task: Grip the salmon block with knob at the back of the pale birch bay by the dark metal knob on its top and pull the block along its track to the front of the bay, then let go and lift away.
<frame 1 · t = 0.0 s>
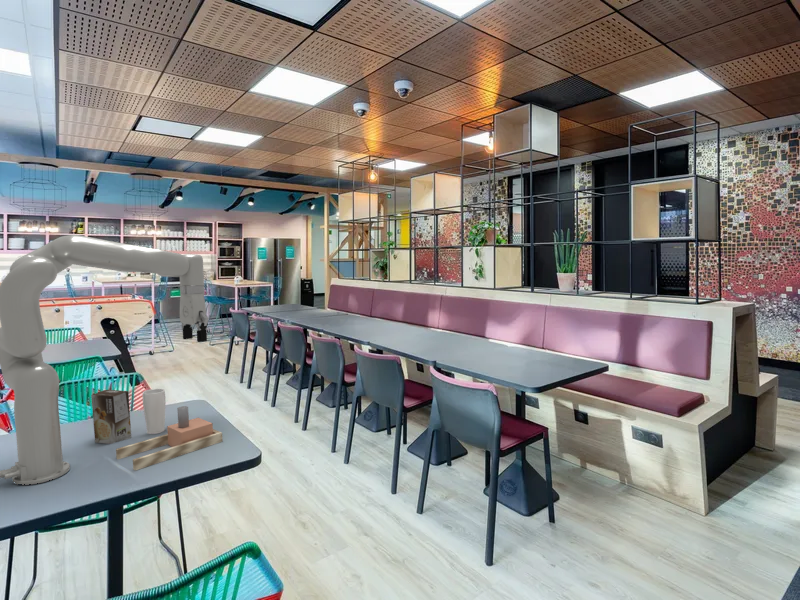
hand: (194, 340, 161), 31 cm above the table, tool pointing down, fingers open, 9 cm apart
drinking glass: (156, 435, 158), on the table
salmon block with knob: (190, 424, 146), point 7 cm above the table, slide at 13.5 cm
coffee box: (113, 440, 153), on the table
bay: (171, 453, 142), on the table
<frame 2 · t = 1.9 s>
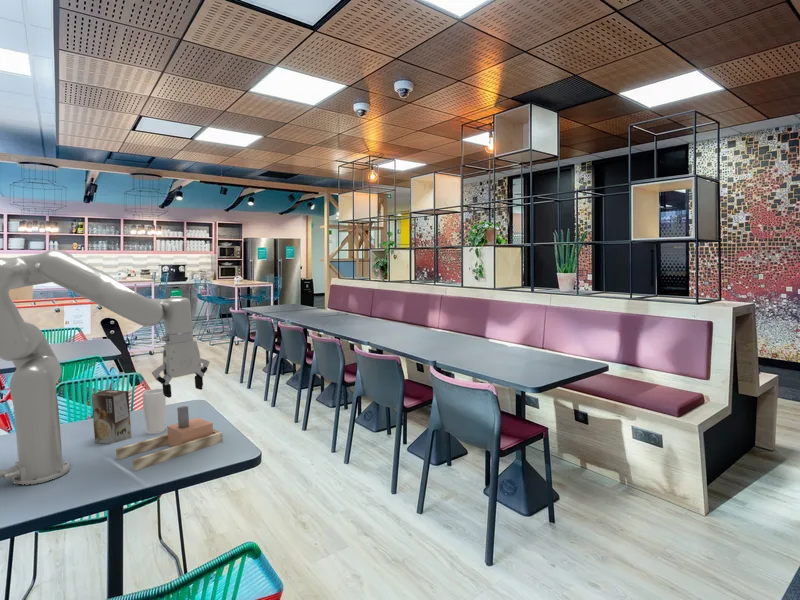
hand: (183, 392, 144), 18 cm above the table, tool pointing down, fingers open, 9 cm apart
nothing on the table moved.
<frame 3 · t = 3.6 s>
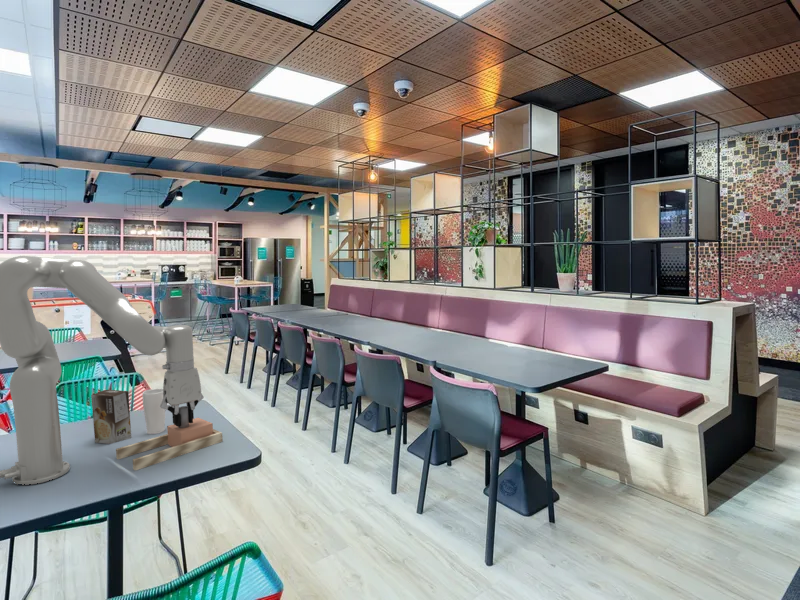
hand: (183, 423, 144), 8 cm above the table, tool pointing down, fingers closed on salmon block with knob, 3 cm apart
salmon block with knob: (190, 424, 146), point 7 cm above the table, slide at 13.5 cm, touching gripper
everything else where it was.
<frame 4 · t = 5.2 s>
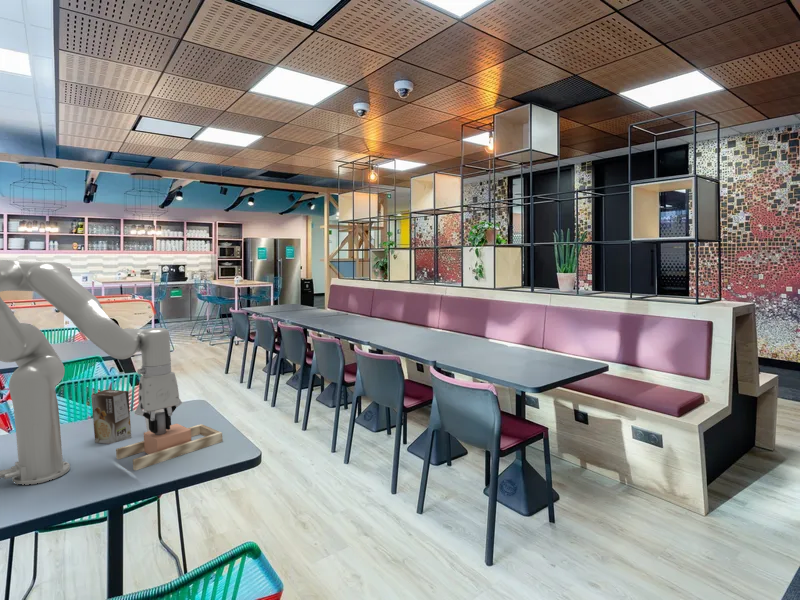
hand: (160, 429, 139), 8 cm above the table, tool pointing down, fingers closed on salmon block with knob, 3 cm apart
salmon block with knob: (167, 431, 141), point 7 cm above the table, slide at 6.5 cm, touching gripper
everything else where it was.
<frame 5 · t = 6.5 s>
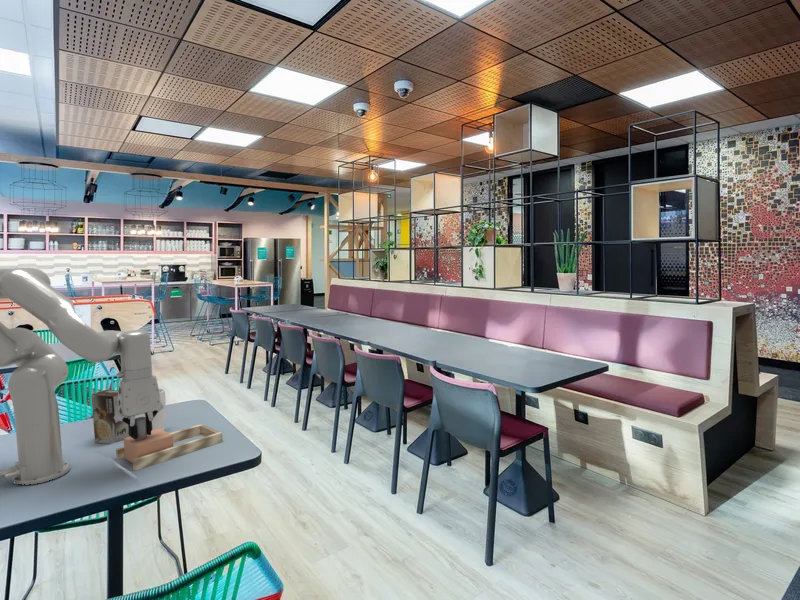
hand: (140, 435, 135), 8 cm above the table, tool pointing down, fingers closed on salmon block with knob, 3 cm apart
salmon block with knob: (148, 436, 136), point 7 cm above the table, slide at 1.0 cm, touching gripper
everything else where it was.
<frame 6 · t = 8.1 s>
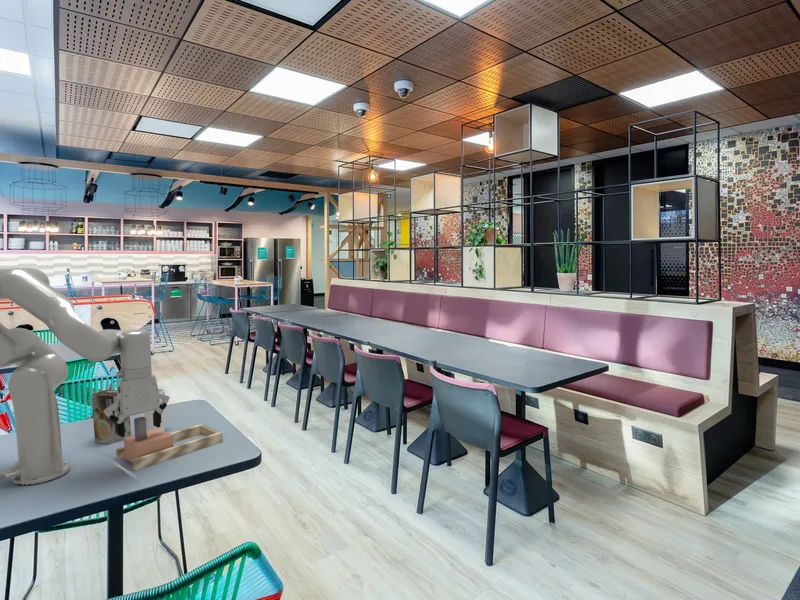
hand: (139, 431, 135), 10 cm above the table, tool pointing down, fingers open, 9 cm apart
salmon block with knob: (148, 436, 136), point 7 cm above the table, slide at 1.0 cm
everything else where it was.
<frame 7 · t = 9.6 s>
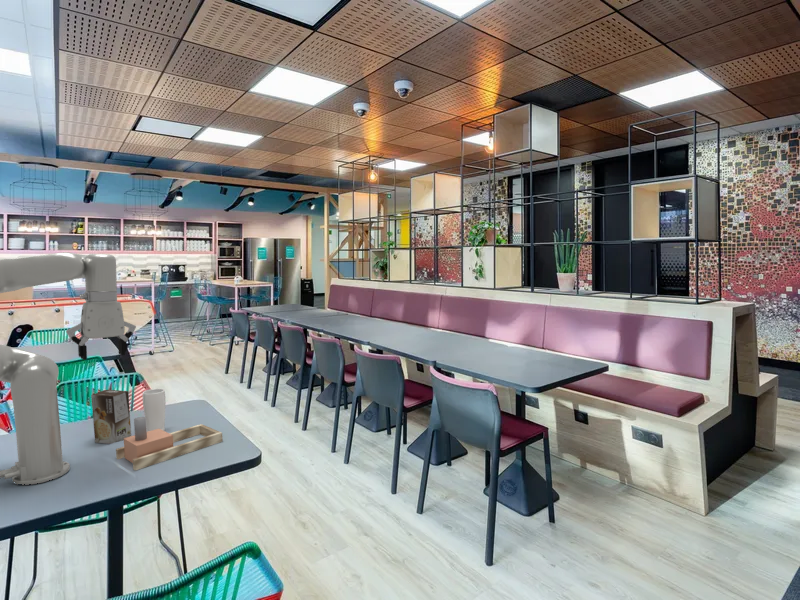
hand: (103, 356, 134), 31 cm above the table, tool pointing down, fingers open, 9 cm apart
nothing on the table moved.
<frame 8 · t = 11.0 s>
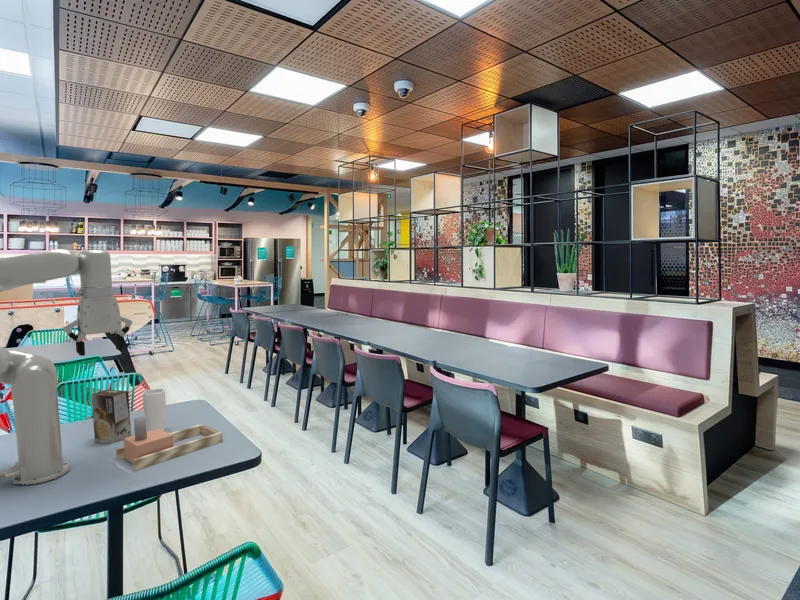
hand: (101, 352, 135), 32 cm above the table, tool pointing down, fingers open, 9 cm apart
nothing on the table moved.
at the end: salmon block with knob slide at 1.0 cm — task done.
